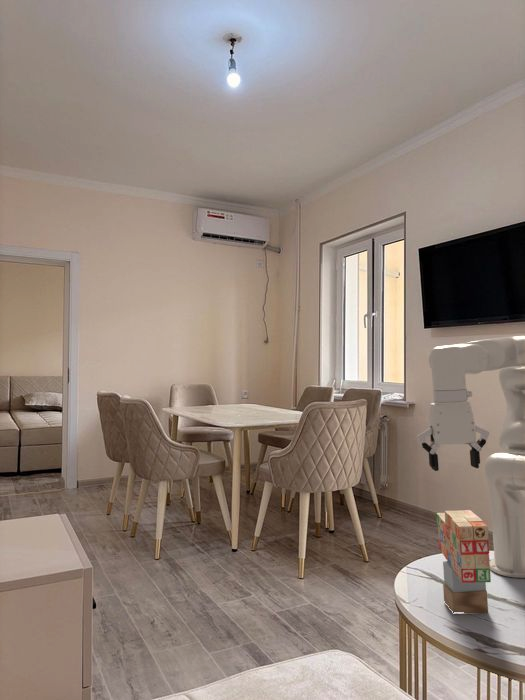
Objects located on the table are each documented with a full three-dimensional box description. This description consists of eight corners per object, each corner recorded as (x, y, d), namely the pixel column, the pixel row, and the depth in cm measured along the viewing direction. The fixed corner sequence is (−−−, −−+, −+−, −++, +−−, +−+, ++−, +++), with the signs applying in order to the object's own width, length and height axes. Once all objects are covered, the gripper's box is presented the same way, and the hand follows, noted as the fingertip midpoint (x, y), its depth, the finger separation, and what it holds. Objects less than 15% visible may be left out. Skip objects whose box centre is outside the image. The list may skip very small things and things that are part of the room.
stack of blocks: (438, 549, 135) (435, 500, 136) (463, 548, 135) (460, 499, 135) (461, 583, 114) (458, 525, 114) (491, 582, 113) (488, 524, 114)
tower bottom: (477, 601, 126) (476, 580, 127) (488, 613, 120) (486, 591, 121) (444, 603, 126) (442, 582, 126) (453, 615, 120) (452, 593, 120)
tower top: (475, 580, 127) (474, 559, 127) (486, 590, 121) (484, 568, 121) (444, 582, 126) (443, 561, 127) (453, 592, 121) (452, 570, 121)
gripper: (478, 394, 131) (483, 463, 130) (409, 398, 130) (414, 467, 130) (492, 395, 123) (497, 469, 123) (419, 400, 123) (424, 474, 122)
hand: (455, 468), depth 126 cm, fingers open, 9 cm apart
